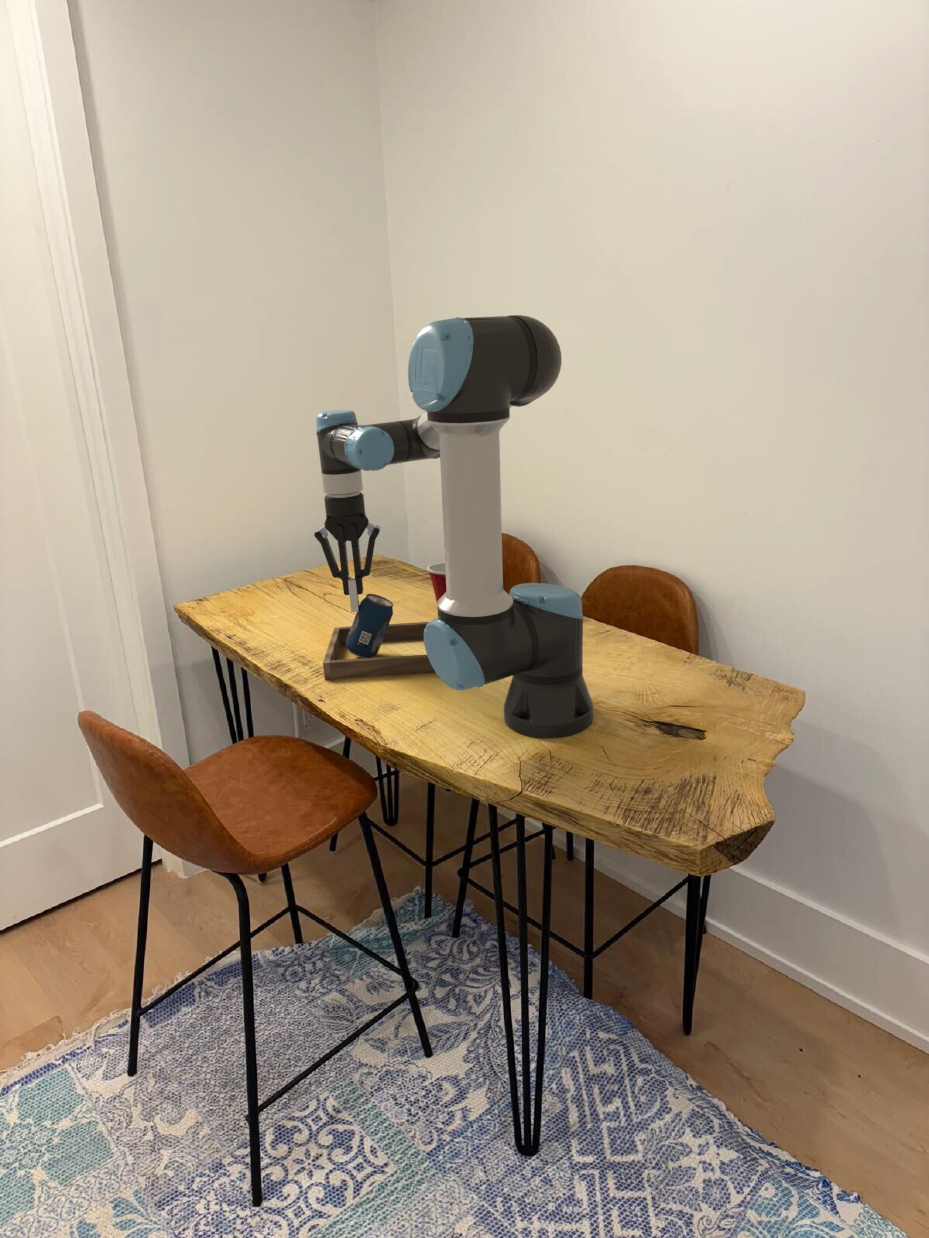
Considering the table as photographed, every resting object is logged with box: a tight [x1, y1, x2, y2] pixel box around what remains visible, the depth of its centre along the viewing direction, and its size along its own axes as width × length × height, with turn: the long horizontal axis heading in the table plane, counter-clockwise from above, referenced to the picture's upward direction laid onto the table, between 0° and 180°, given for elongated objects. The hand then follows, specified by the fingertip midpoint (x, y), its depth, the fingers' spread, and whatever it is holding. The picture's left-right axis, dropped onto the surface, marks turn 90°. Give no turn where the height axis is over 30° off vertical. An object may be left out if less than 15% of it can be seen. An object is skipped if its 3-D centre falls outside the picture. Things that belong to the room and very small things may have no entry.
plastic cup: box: [426, 562, 447, 603], centre depth 192 cm, size 11×11×12 cm
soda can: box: [345, 593, 394, 659], centre depth 170 cm, size 7×7×12 cm
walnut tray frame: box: [322, 621, 436, 681], centre depth 172 cm, size 20×25×4 cm
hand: (355, 609), depth 168 cm, fingers closed
